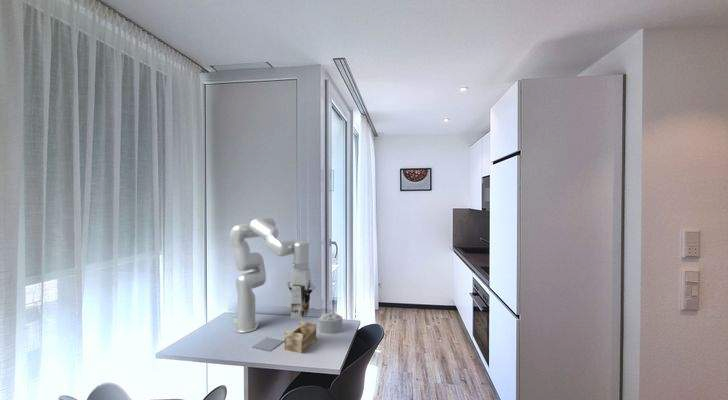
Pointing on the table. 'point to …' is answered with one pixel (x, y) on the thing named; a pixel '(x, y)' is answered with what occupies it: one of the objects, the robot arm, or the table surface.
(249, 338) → the table surface
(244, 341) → the table surface
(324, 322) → the lumpy-topped squat cylinder
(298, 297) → the coffee box
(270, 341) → the mat
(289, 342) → the carton
